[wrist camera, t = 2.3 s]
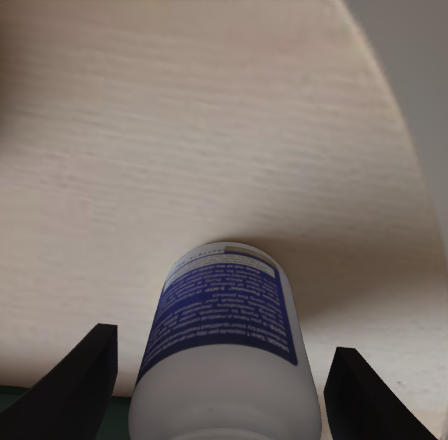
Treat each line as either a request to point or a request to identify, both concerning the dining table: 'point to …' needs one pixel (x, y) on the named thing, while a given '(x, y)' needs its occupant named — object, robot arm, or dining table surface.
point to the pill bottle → (225, 354)
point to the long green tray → (111, 424)
